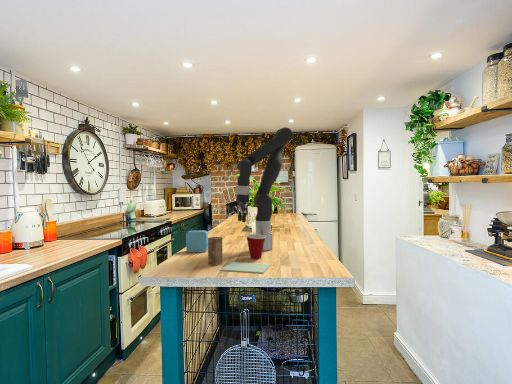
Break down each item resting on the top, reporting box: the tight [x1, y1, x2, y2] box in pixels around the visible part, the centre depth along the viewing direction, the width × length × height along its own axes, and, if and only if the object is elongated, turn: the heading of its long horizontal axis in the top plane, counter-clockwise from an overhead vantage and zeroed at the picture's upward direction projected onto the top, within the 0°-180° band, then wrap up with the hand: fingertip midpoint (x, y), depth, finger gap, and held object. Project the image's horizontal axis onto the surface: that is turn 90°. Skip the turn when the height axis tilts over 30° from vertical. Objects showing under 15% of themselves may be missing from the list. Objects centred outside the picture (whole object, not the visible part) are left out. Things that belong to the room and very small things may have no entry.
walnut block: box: [207, 236, 224, 267], centre depth 158 cm, size 5×5×13 cm
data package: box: [185, 230, 209, 253], centre depth 188 cm, size 12×4×12 cm, turn 86°
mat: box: [220, 261, 272, 274], centre depth 149 cm, size 20×14×1 cm
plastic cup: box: [245, 233, 266, 260], centre depth 170 cm, size 11×11×12 cm
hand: (241, 221), depth 187 cm, fingers open, 8 cm apart
